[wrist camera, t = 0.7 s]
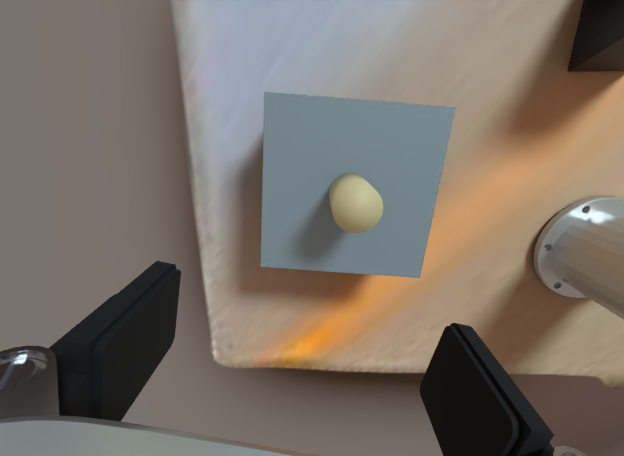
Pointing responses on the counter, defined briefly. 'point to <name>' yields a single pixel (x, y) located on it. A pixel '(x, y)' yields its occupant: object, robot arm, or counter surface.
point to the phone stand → (599, 37)
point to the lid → (350, 183)
